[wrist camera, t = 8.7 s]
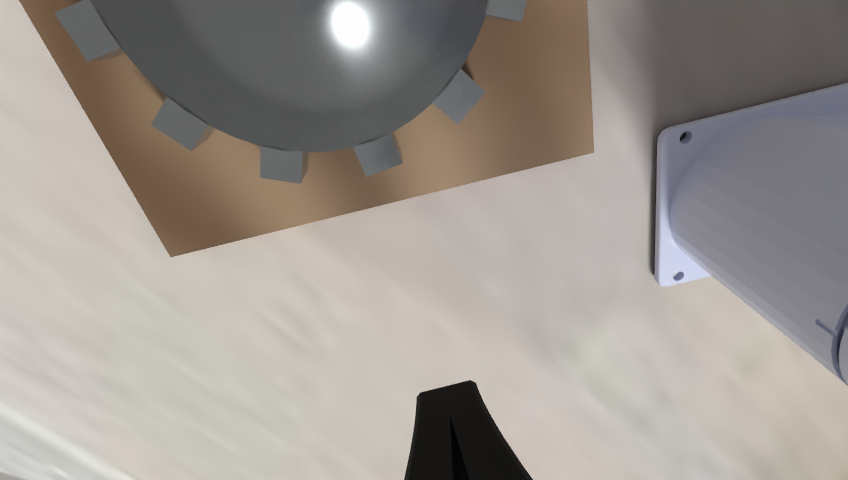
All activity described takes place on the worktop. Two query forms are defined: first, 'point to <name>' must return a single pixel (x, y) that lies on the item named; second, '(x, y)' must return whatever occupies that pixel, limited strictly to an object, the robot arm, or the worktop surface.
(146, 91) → the sprocket base
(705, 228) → the robot arm
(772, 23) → the worktop surface
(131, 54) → the sprocket
